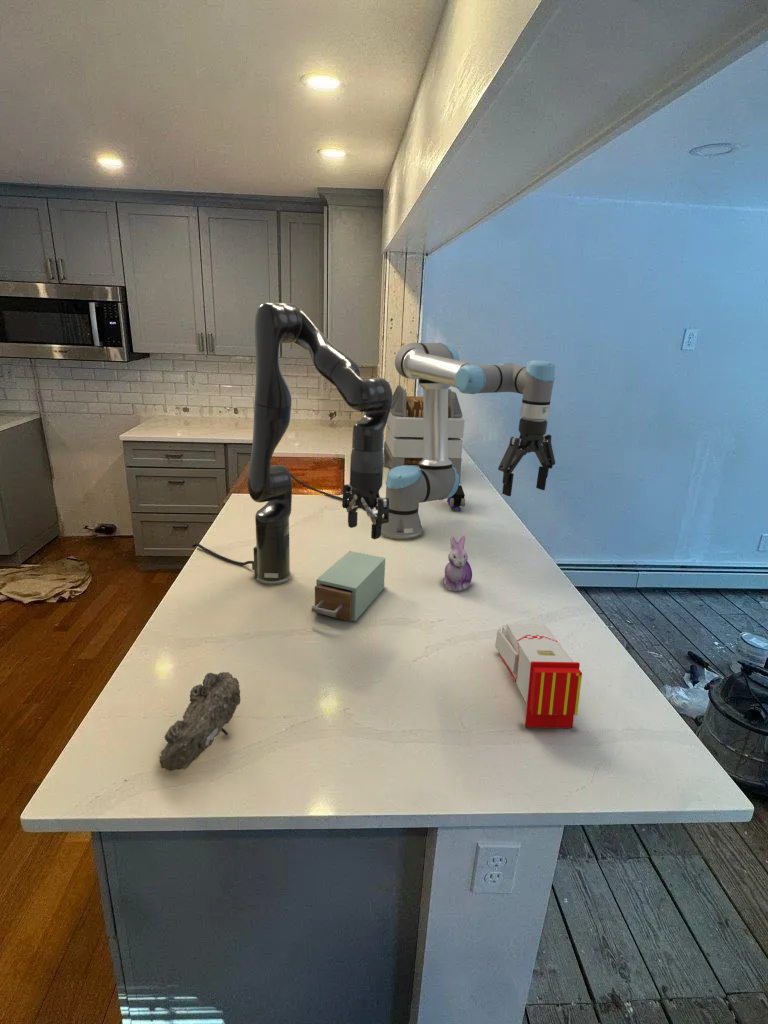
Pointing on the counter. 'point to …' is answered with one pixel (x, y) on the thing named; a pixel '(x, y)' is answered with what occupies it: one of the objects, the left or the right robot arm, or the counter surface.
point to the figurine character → (457, 499)
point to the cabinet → (357, 578)
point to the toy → (541, 674)
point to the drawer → (333, 602)
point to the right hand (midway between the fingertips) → (523, 491)
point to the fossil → (201, 720)
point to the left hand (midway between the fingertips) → (363, 532)
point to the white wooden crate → (418, 431)
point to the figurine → (457, 567)
